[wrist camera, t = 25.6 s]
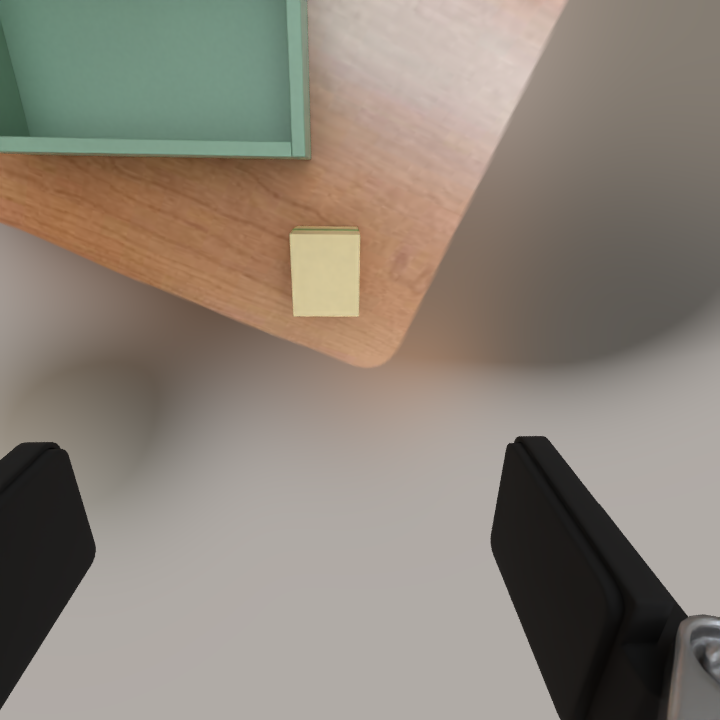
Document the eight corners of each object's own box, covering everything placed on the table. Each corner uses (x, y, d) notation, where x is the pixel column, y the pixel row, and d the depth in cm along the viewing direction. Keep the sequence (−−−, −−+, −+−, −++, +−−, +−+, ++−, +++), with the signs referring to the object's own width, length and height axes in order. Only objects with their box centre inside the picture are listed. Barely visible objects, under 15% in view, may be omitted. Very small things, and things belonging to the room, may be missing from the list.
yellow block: (298, 299, 35) (293, 317, 30) (295, 225, 32) (289, 233, 28) (356, 299, 35) (359, 317, 31) (357, 225, 33) (360, 233, 28)
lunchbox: (311, 159, 31) (305, 157, 25) (30, 154, 30) (-37, 151, 24) (304, -98, 25) (295, -170, 20) (-39, -114, 24) (-144, -194, 19)
